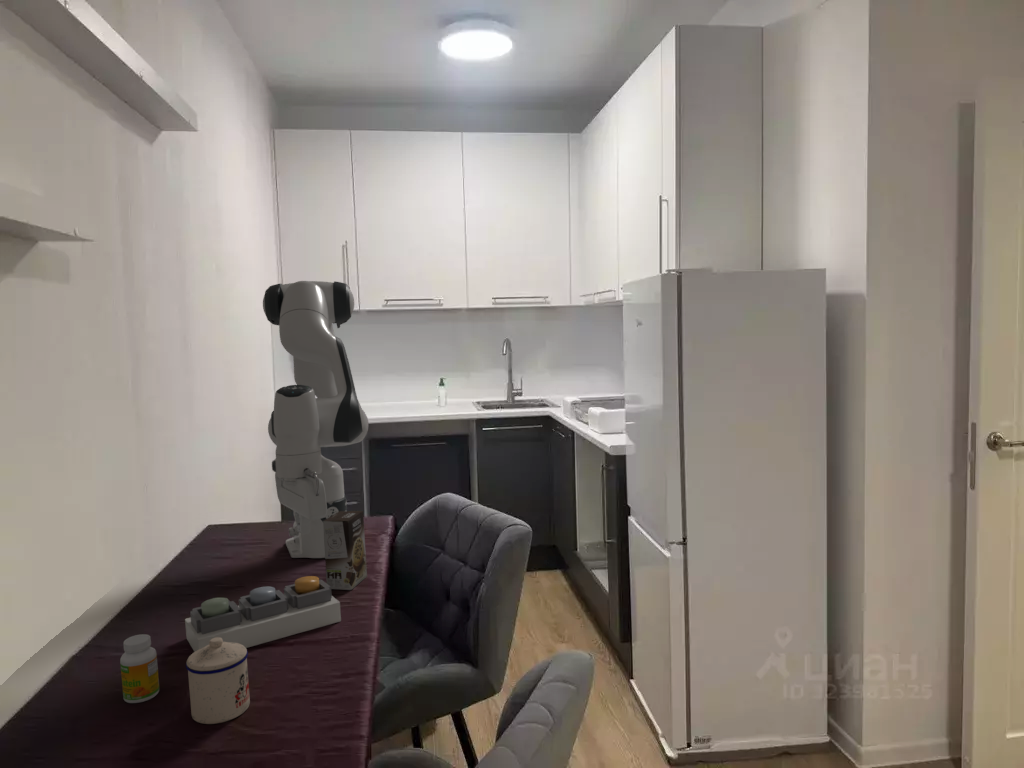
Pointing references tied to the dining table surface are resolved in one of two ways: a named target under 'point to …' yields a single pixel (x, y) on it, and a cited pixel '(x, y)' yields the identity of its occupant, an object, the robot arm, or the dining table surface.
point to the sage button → (214, 607)
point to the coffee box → (345, 549)
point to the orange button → (306, 584)
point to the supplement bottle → (139, 669)
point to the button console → (265, 618)
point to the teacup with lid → (218, 681)
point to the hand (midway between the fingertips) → (303, 532)
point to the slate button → (262, 595)
